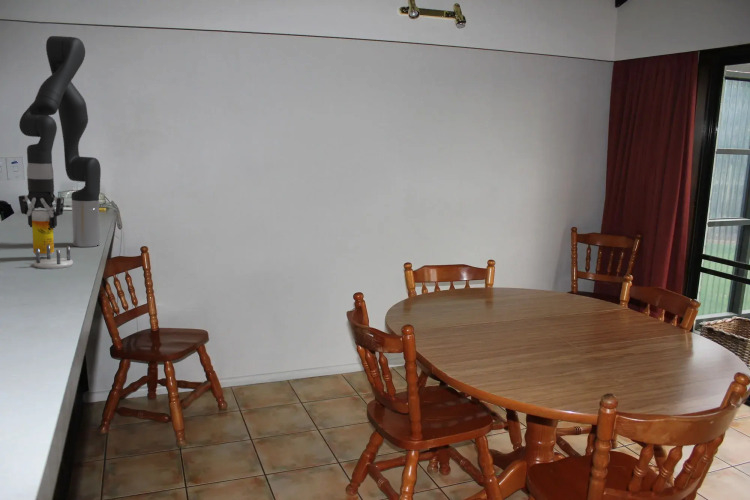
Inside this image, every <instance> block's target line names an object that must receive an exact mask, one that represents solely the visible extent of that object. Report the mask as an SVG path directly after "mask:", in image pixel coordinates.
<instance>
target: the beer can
mask: <svg viewBox="0 0 750 500" xmlns="http://www.w3.org/2000/svg"><path fill="white" fill-rule="evenodd" d="M31 228H32V246H33V247H32V251H33V253H34V254H35V256H36V249H40V257H44V256H45V257H47V245H50V256H51V255H53V254H54V253H55V242H54V241H55V239H54V237H55V236H54V228H50V215H49V213H48V212H47V211H46V209H45V208H38V209H36V210H33V212H32V227H31Z"/></svg>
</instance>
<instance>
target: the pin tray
mask: <svg viewBox="0 0 750 500" xmlns="http://www.w3.org/2000/svg"><path fill="white" fill-rule="evenodd" d="M65 247H66V258H63V257H61V249H56V251H55V252H56V257H51V255H50V245H47V256H46V258H41V256H40V249H36V255H35V258H36V260H34V262H33V267H34V268H37V269H48V270H53V269H54V270H55V269H65V268H70V267H73V265H74V261H73V259H71V246H69V245H67V246H65Z"/></svg>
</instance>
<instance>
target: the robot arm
mask: <svg viewBox="0 0 750 500" xmlns="http://www.w3.org/2000/svg"><path fill="white" fill-rule="evenodd" d="M45 51H46V55H47V60H48V64H49V68H50V72H51V74H50V76H49V77H47V79H45V80H44V81H43V83H41V85H40V87H39V89H38V92H37V94H36V96H35V98H34V101H33V102H32V103H31V104H30V105H29V107H28V108H27V109H26V110H25V111H24V113H22V115H21V117H20V119H19V123H18V124H19V129H20V131H21V132H20V133H22V135H25V136H27V137H33V138H39V140H38V143H34V144H33V143H32V144H29V145H28V146H27V148H26V155H27V157H26V158H27V166H26V176H27V177H26V178H27V190H28V191H27V192H28V194H27V195H26V194H23V195H19V196H18V202H19V208H20V213H21V214H23V215H26V216H27V224H28V226H29V228H32V212H33V210H36V209H46V211H47V212H48V213H49V215H50V228H53V229H55V228H56V227H57V226H58V217H59V216H63V213H64V202H65V198H64V197H58V196H55V192H54V191H55V181H54V168H53V157H52V155H53V152H52V151H53V147H54V143H55V139H56V135H57V132H58V131H57V130H58V129H57V128H58V127H57V123H56V121H55V119H54V118H53V117H52V116H53V115H56V113H57V112H58V117H59V121H60V126H61V133H62V142H63V152H64V153H63V155H64V166H65V167H64V168H65V172H66V176H67V178H68V180H70V181H73V182H81V183H82V182H84V186H83V187H82V188H81V189H79V190H78V189H77V190H74V191H73V192H71V218H72V219H71V220H72V222H71V223H72V224H71V225H72V246H74V247H80V248H89V247H97V245H98V246H100V245H99V244H101V241H100V239H101V238H100V237H101V235H100V227H101V226H100V192H101V173H102V172H101V170H102V169H101V163H100V161H99V160H98V159H97V158H96V157H92V156H91V157H90V156H80V152H79V145H80V141H81V138H82V136H83V134H84V132H85V130H86V128H87V126H88V123H89V114H88V108H87V103H86V101H85V98H84V97H83V96H82V94H81V93H80V91H79V90H78V89H77V88H76V86H75V85H74V83H73V82H72V80H73V79H74V77H75V75H76V74H77V73H78V70H80V68H81V66H82V64H83V63H84V60H85V57H86V48H85V44H84V42H83V41H82V40H81V39H80V38H78V37H75V36H74V37H73V36H64V35H63V36H62V35H51V36H49V37H48V38H47V39H46V43H45ZM28 202H30V204H29V205H28ZM54 203H55V206H54Z"/></svg>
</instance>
